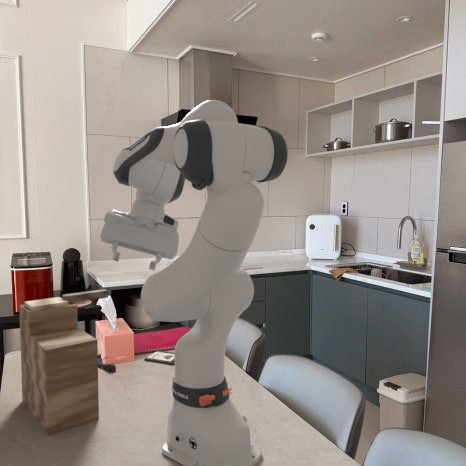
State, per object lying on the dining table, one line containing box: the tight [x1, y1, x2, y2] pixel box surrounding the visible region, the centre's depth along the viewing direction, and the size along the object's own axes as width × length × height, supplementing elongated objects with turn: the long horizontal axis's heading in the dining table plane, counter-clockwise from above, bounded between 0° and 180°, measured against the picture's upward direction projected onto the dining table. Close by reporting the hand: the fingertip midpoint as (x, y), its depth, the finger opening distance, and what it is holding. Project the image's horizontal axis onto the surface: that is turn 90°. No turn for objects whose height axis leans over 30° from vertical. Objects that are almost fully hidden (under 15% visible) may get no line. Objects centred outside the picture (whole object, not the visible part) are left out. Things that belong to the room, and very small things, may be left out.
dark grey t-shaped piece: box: [98, 353, 117, 373], centre depth 144 cm, size 14×15×3 cm
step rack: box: [18, 302, 100, 436], centre depth 114 cm, size 22×12×26 cm, turn 39°
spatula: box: [23, 288, 109, 311], centre depth 121 cm, size 21×7×2 cm, turn 129°
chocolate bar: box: [144, 350, 175, 366], centre depth 151 cm, size 9×1×18 cm
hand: (133, 264), depth 115 cm, fingers open, 8 cm apart
